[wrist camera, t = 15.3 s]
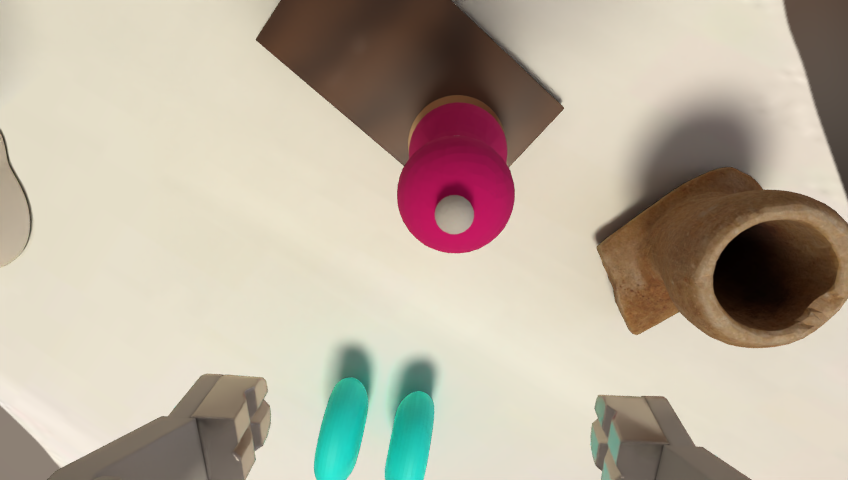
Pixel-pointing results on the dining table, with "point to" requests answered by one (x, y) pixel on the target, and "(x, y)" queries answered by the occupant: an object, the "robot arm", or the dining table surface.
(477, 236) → the pepper mill
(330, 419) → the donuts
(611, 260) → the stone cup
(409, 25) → the serving board
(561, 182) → the dining table surface
